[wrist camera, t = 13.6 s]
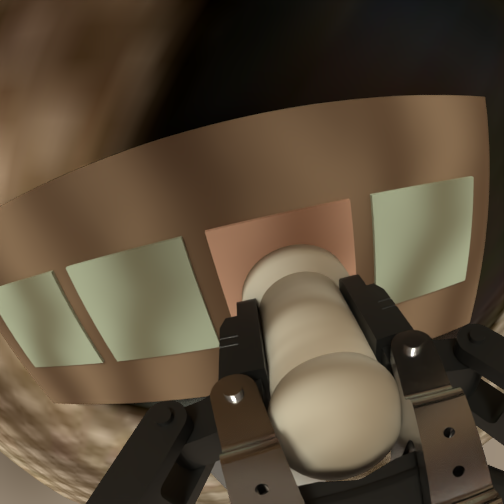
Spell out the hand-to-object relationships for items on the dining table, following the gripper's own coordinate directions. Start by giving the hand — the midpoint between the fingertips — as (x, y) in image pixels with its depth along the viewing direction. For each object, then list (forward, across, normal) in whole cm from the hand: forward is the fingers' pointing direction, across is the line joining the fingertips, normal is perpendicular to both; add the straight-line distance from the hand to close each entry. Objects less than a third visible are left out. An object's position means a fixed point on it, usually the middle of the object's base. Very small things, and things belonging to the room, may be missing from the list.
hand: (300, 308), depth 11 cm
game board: (+4, +4, 0) cm, 5 cm away
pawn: (+1, 0, 0) cm, 1 cm away
